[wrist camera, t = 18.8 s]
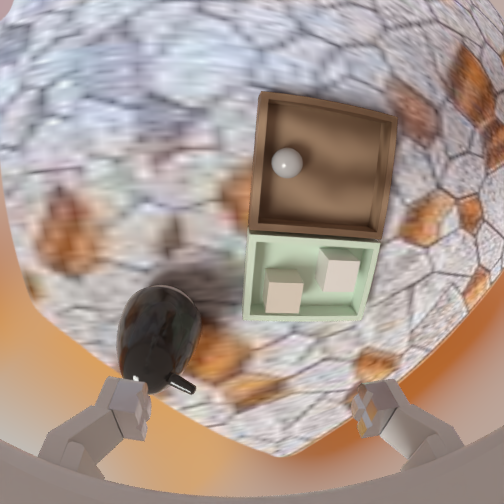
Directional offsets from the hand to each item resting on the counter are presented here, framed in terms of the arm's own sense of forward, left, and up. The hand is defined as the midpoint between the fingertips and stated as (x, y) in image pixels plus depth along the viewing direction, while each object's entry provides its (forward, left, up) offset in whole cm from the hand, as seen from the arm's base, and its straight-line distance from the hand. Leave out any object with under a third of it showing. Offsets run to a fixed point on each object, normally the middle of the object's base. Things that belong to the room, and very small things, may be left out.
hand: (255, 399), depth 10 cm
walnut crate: (-7, +9, -27) cm, 29 cm away
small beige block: (+5, +12, -26) cm, 29 cm away
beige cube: (+8, +6, -26) cm, 28 cm away
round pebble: (-7, +5, -26) cm, 27 cm away
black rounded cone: (+13, -9, -27) cm, 31 cm away
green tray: (+6, +9, -27) cm, 29 cm away
